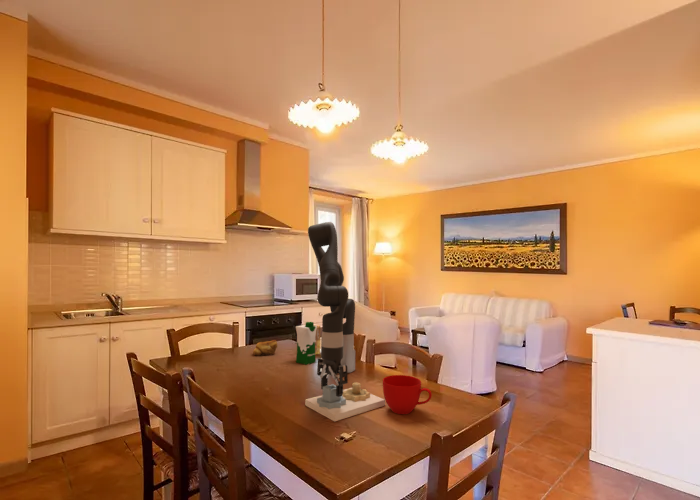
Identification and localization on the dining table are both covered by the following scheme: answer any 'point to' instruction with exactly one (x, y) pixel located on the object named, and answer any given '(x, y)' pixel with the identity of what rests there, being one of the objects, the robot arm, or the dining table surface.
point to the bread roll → (265, 348)
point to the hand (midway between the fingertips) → (331, 392)
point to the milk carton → (306, 343)
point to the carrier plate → (348, 403)
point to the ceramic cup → (403, 393)
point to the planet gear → (330, 398)
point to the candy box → (317, 340)
